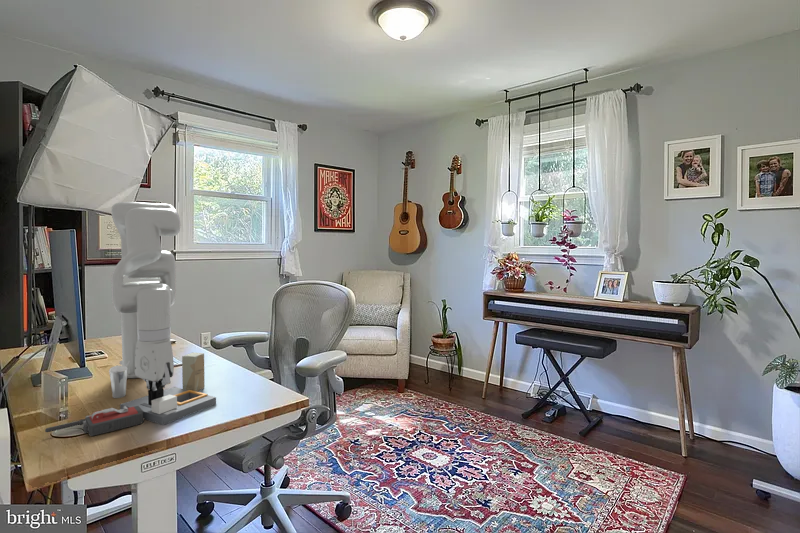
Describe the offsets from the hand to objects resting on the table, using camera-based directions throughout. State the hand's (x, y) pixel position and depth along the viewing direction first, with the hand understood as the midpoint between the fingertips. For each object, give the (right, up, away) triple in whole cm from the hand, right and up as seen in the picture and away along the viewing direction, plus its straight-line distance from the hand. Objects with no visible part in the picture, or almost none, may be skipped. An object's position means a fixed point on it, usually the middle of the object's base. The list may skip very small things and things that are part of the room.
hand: (156, 403), depth 117 cm
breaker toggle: (+3, -1, -1) cm, 4 cm away
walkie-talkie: (-10, -4, -8) cm, 13 cm away
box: (0, -2, +20) cm, 20 cm away
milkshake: (-18, -2, +15) cm, 24 cm away
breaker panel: (+1, -3, +6) cm, 6 cm away
